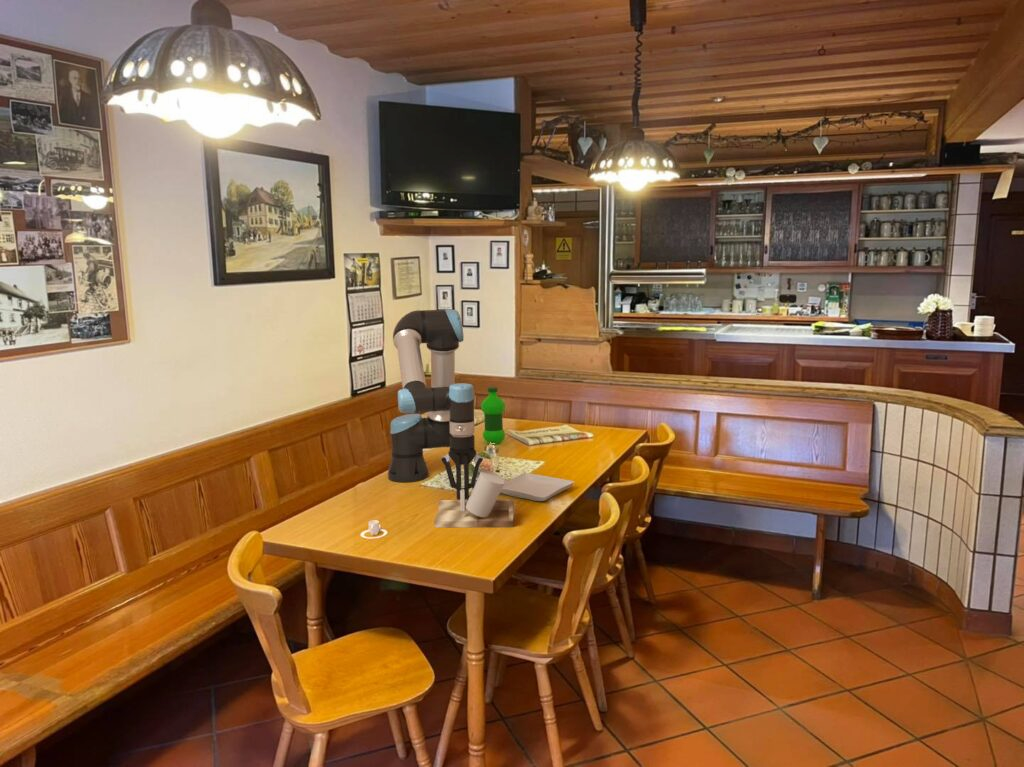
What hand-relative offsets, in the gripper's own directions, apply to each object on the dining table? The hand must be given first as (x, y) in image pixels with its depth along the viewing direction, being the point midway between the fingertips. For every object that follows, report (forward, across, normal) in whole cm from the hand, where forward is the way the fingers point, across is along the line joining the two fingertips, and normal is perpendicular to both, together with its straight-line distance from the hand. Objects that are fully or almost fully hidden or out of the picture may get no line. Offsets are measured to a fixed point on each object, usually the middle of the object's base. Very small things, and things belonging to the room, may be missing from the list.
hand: (463, 509), depth 228 cm
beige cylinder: (+1, +4, +1) cm, 4 cm away
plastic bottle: (+2, +1, +102) cm, 102 cm away
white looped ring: (+6, -23, -7) cm, 25 cm away
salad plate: (+4, +21, +31) cm, 38 cm away
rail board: (+4, +4, +2) cm, 6 cm away
